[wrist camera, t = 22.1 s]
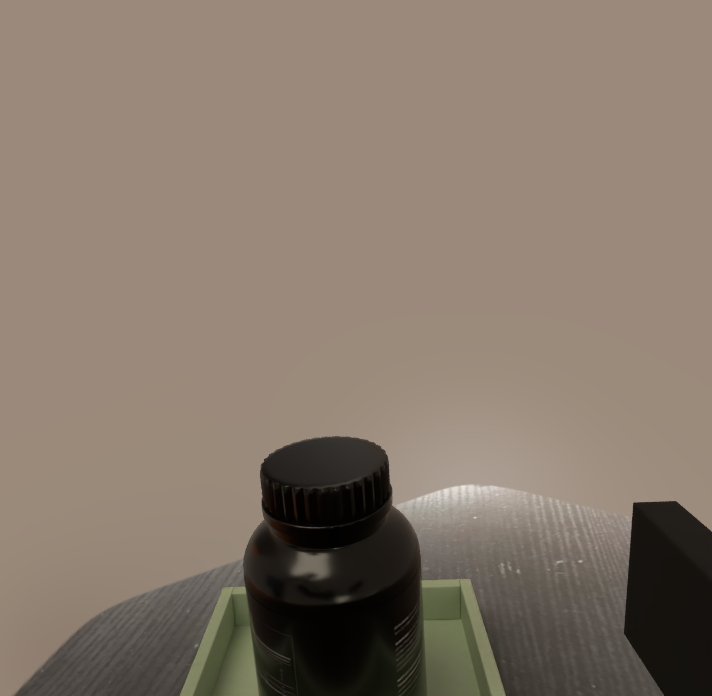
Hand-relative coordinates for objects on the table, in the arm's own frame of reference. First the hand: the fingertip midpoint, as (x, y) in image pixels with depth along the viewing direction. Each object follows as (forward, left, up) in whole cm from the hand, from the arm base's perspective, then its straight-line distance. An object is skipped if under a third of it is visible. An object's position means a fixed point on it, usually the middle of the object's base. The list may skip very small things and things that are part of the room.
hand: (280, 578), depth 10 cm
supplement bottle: (0, +10, -14) cm, 17 cm away
